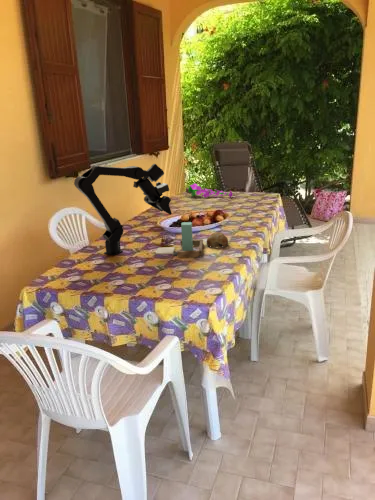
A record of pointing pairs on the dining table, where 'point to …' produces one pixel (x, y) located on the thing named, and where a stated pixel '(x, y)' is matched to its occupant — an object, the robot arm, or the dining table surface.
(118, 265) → the dining table surface
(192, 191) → the purple flower spray
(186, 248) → the teal block
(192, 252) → the walnut frame
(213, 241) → the bread roll
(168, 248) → the white tile
